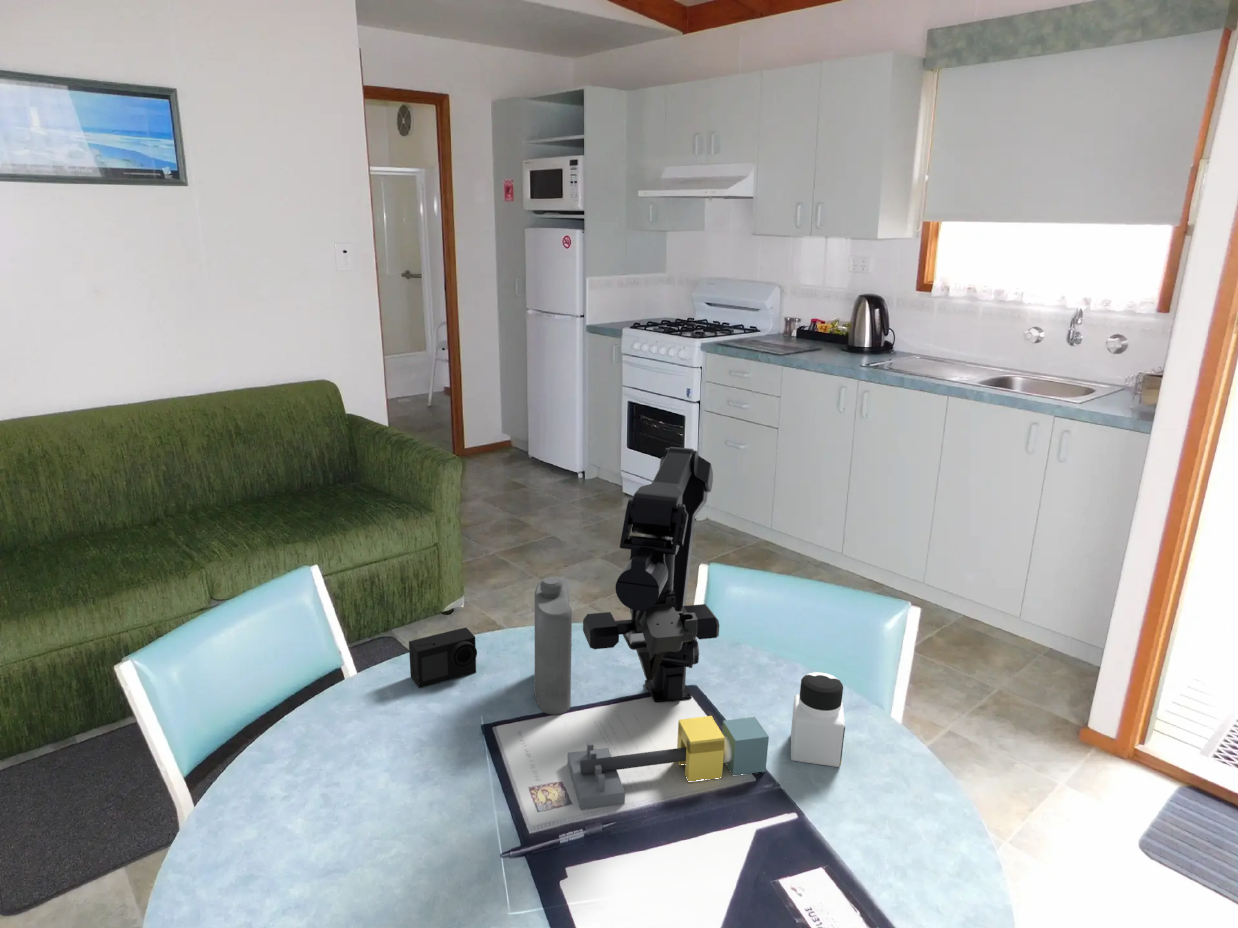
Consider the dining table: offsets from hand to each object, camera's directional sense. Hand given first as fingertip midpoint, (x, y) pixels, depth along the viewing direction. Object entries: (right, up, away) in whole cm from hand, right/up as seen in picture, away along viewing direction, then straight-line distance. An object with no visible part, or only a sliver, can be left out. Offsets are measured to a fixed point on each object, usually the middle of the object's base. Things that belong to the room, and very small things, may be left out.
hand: (648, 678), depth 119 cm
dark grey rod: (+3, -13, -2) cm, 14 cm away
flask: (-16, -7, +19) cm, 25 cm away
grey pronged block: (-8, -14, -4) cm, 16 cm away
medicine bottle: (+25, -12, +5) cm, 28 cm away
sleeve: (+7, -13, -1) cm, 15 cm away
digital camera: (-34, -6, +22) cm, 41 cm away
